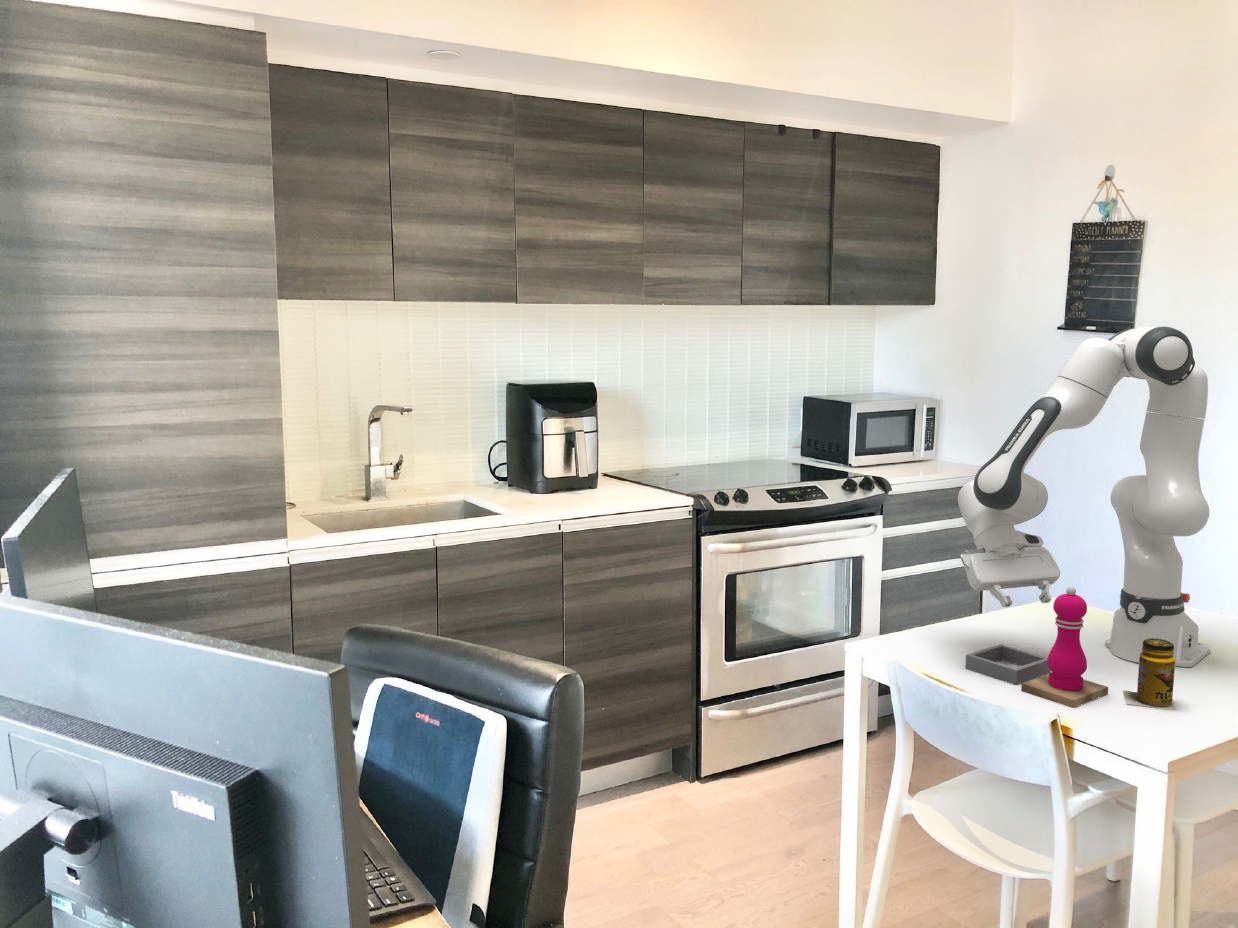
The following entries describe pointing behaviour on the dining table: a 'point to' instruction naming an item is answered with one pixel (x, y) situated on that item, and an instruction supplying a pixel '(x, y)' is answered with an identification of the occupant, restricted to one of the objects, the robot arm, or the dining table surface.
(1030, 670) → the gray square tray
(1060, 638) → the pepper mill
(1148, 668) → the condiment
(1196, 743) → the dining table surface
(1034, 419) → the robot arm
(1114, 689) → the dining table surface
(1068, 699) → the walnut board
